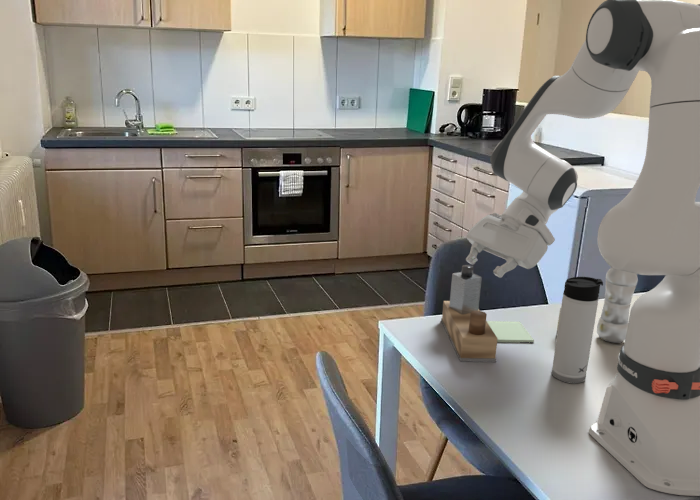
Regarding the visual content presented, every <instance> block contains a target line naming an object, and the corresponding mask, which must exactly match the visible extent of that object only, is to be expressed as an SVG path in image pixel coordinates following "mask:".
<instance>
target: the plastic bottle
mask: <svg viewBox="0 0 700 500" xmlns="http://www.w3.org/2000/svg"><path fill="white" fill-rule="evenodd" d="M638 282H639V279H638V274H635V273H630V272H626V271H621V270H617V269H614V268H612V267H610V268H609V269H608V270H607V271H606V274H605V292H604V293H605V294H604V300H603V306H602V309H601V314H600V316H599V317H600V318H598V322H597V325H596V333H597V335H598V337H599V339H601V340H603V341H605V342H608V343H613V344H614V343H616V344H618V343H620V344H621V343H622V342H625V338H626V333H627V327H628V322H629V316H630V309H631V308H630V307H631V303H632V299H633V296H634V292H635V289H636V287H637V285H638Z"/></svg>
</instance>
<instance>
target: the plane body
mask: <svg viewBox="0 0 700 500" xmlns="http://www.w3.org/2000/svg"><path fill="white" fill-rule="evenodd" d="M449 305H450V300H443V303H442V314H441V320H440V321H441V323H442V326H443V327H444V330H445V332H446V333H447V336H448V339H449V340H450V343H451V344H452V346H453V348H454V351H455V352H456V353H455V354H456V355H457V357H458V359H459V362H477V363H479V362H480V363H481V362H482V363H484V362H487V363H490V362H491V363H492V362H493V363H496V362H497V358H496V356H497V348H498V342H497V339H498V338H497V337H496V335H495V334H494V332H493V330H492V329H491V327H490V326H489V324H488V323H487V321H488V320H487V312H484V311H482V310H480V308H478V311H472V312H471V313H468V314H462V315H461V314H460V313H458V312H456V311H455V310H453V309H451V308H449Z"/></svg>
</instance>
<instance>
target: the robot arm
mask: <svg viewBox="0 0 700 500" xmlns="http://www.w3.org/2000/svg"><path fill="white" fill-rule="evenodd" d="M639 72H645V73H647V74H648V75H649V77H650V81H651V82H650V86H651V88H650V96H649V97H650V98H649V114H648V129H647V130H648V131H647V132H648V133H647V143H646V150H645V158H644V161H643V165H642V168H641V172H640V174H639V176H638V177H637V180H636V182H635V183H634V185H633V187H632V188H631V190H630V191H628V193H627V194H626V196H625V197H624V198H623V199H621V200H620V201H619V203H617V204H616V205H614V206H612V207H611V208H610V209H609V210H608V211H607V212H606V213H605V215H604V216H603V218H602V219H601V222H600V223H599V225H598V226H599V227H598V230H597V246H598V250H599V253H600V255H601V256H602V258H603V260H604V261H605V262H606V264H607V265H608V266H609V267H610V268H611V267H612V268H614V269H617V270H621V271H626V272H630V273H635V274H637V275H641V276H664V278H663V279H662V280H661V281H660V282H659V283H658V284H657V285H656V286H654V287H653V288H652V289H650V290H649V291H647V292H645V293H644V294H641V295H640V296H639V297H637V298H636V300H634V302H633V304H632V306H631V308H630V310H629V319H628V327H627V333H626V338H625V340H624V344H623V345H622V346H621V347H620V349H619V350H620V351H619V353H618V357H617V365H616V367H617V371H618V372H617V374H616V375H615V377H614V379H612V381H611V382H610V383H609V384H608V385H607V387H606V388H605V389H606V390H605V393H604V396H603V400H602V403H601V406H600V411H599V415H598V417H597V421H596V422H593V424H591V425H590V426H589V430H588V433H589V435H590V436H591V437H592V438H593V439H594V440H595V441H596V442H597V443H598V444H600V445H601V446H602V447H603V448H604V449H605V450H606V451H607V452H608V453H609V454H610V455H611V456H612V457H613V458H614V459H615V460H617V461H618V462H619V463H620V464H621V465H622V466H623V467H624V468H625V469H626V470H627V471H628V472H629V473H631V475H632V476H634V477H635V478H636V479H637V480H638V481H639V482H640V483H641V484H642V485H643V486H645V487H646V488H648V489H650V490H654V491H657V492H661V493H666V494H670V495H679V496H686V497H687V496H688V497H689V496H691V497H700V201H696V199H697V198H696V197H697V194H698V190H699V188H700V3H699V4H694V3H691V2H687V1H686V2H685V1H680V0H604V1H603V2H601V3H600V4H599V5H598V6H597V8H596V9H595V10H594V12H593V13H592V15H591V17H590V19H589V21H588V24H587V28H586V33H585V40H584V42H583V43H582V45H581V46H580V48H579V50H578V52H577V54H576V56H575V57H574V60H573V62H572V64H571V66H570V67H569V69H568V70H567V71H566V72H564V74H562V75H554V76H551V77H550V78H548V79H547V80H546V81H545V82H543V84H542V85H541V86H540V87H539V88H538V90H537V91H536V92H535V93H534V95H533V96H532V97H531V99H530V100H529V102H528V103H527V105H526V106H525V107H524V109H523V110H522V112H521V113H520V114H519V116H518V117H517V119H516V120H515V122H514V123H513V124H512V126H511V128H510V129H509V130H508V132H507V133H506V134H505V135H504V137H503V138H502V139H501V140H500V141H499V142H498V143H497V145H496V146H495V147H494V149H493V150H492V153H491V155H490V158H489V159H490V160H489V161H490V166H491V169H492V172H493V174H494V176H497V177H499V178H500V179H502V180H504V181H506V182H509V183H510V184H512V185H514V186H515V187H516V188H518V189H520V190H521V191H522V192H521V193H520V195H518V196H516V197H515V198H514V199H513V200H512V202H511V203H510V204H509V205H508V206H507V207H506V209H504V211H503V212H502V213H501V214H499V213H497V212H493V213H490V214H487V215H485V216H484V217H482V218H481V219H479V221H477V223H475V224H474V225H473V226H472V227H471V228H470V229H469V230H468V232H466V239H467V241H468V242H469V243H470V244H471V247H470V252H469V254H468V255H467V257H466V258H465V261H466V262H467V263H469V265H471V266H474V265H475V264H476V262H478V260H479V259H478V258H477V256H478V254H479V253H481V252H482V251H485V252H487V253H490V254H492V255H494V256H496V257H499V258H502V259H504V260H505V261H506V262H505V263H503V264H502V265H500V266H499V265H497V266H496V267H495V269H493V270H492V271H493V272H492V273H493V274H494V276H496V277H498V278H499V279H501V278H503V276H504V275H505V274H506V273H508V272H511V271H512V270H514V269H515V268H517V266H520V267H522V268H524V269H526V270H530V269H532V268H534V267H535V266H537V264H538V263H539V262H540V261H541V260H542V258H543V257H544V256H545V254H546V253H547V251H548V249H549V247H550V246H551V245H553V244H554V243H555V241H556V238H555V237H554V235H553V234H552V233H553V232H551V231H550V229H549V228H548V226H547V225H546V224H547V223H549V219H550V217H551V216H552V215H553V214H554V213H556V212H557V211H558V210H560V209H562V208H563V207H564V206H565V205H566V203H567V202H569V200H570V199H571V197H572V196H574V193H575V192H576V190H577V188H578V178H579V177H578V173H577V171H576V168H574V166H573V165H572V164H570V163H569V162H568V161H566V160H564V159H561V158H560V157H558V156H556V155H554V154H552V153H551V152H549V151H548V150H546V149H544V148H543V147H541V146H539V145H538V144H537V143H535V142H534V141H533V139H532V135H533V133H534V132H535V130H536V129H537V128H538V127H539V125H540V124H541V123H542V122H543V120H544V119H545V117H546V116H547V115H558V116H559V115H560V116H567V117H571V118H575V119H584V120H585V119H586V120H587V119H588V120H589V119H596V118H600V117H604V116H606V115H608V114H610V113H611V112H613V111H615V110H616V109H617V107H618V106H619V105H620V104H621V103H622V102H623V100H624V98H625V97H626V96H627V93H629V90H630V88H631V87H632V85H633V84H634V81H635V80H636V77H637V76H638V73H639ZM548 246H549V247H548Z"/></svg>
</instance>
